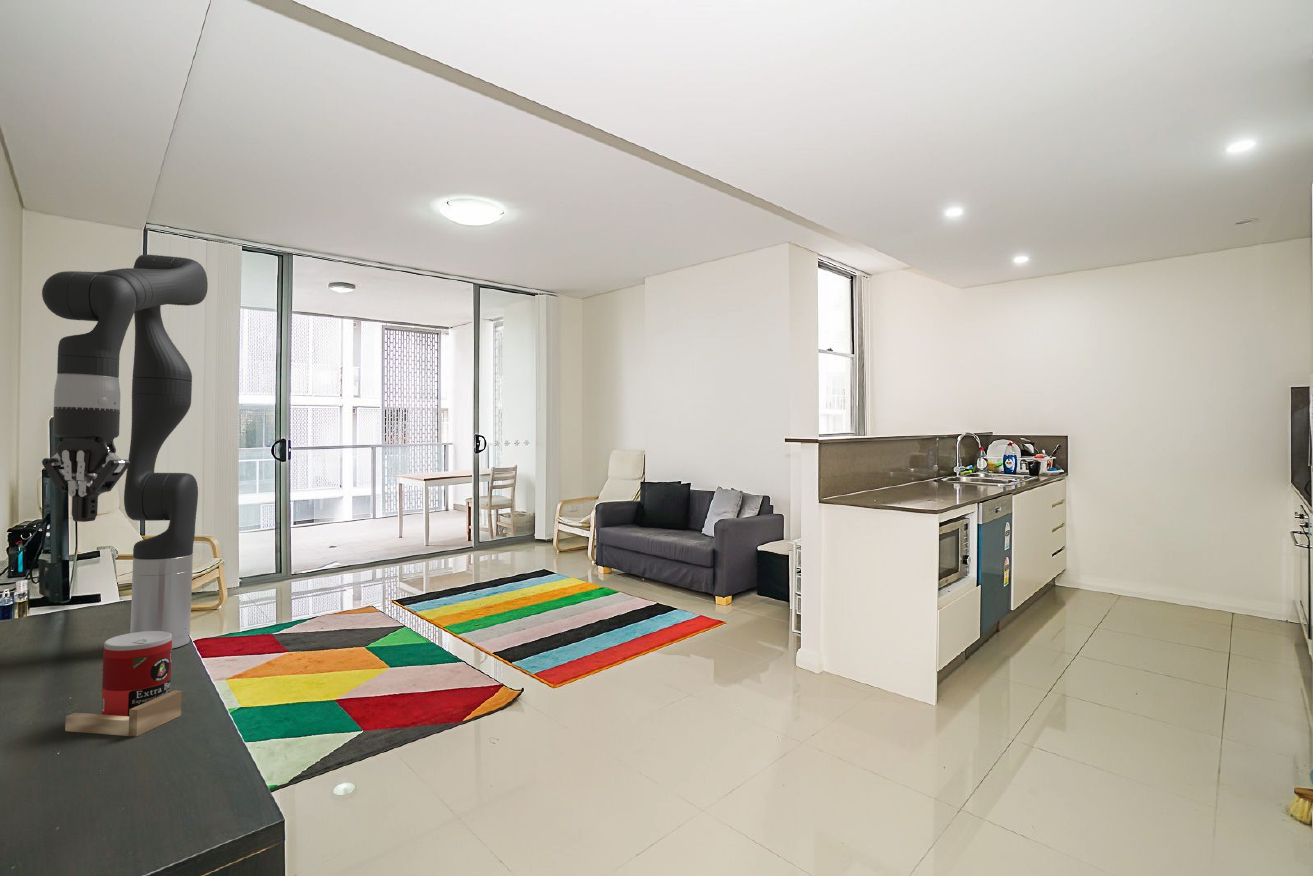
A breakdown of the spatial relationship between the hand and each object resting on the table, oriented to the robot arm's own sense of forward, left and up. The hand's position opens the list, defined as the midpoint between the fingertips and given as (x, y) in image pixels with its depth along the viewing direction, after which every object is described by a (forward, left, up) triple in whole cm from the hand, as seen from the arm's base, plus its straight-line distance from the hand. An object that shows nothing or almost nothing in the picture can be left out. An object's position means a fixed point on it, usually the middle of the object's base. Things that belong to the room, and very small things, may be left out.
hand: (84, 521), depth 98 cm
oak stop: (+14, +1, -27) cm, 31 cm away
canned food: (+12, +3, -27) cm, 30 cm away
